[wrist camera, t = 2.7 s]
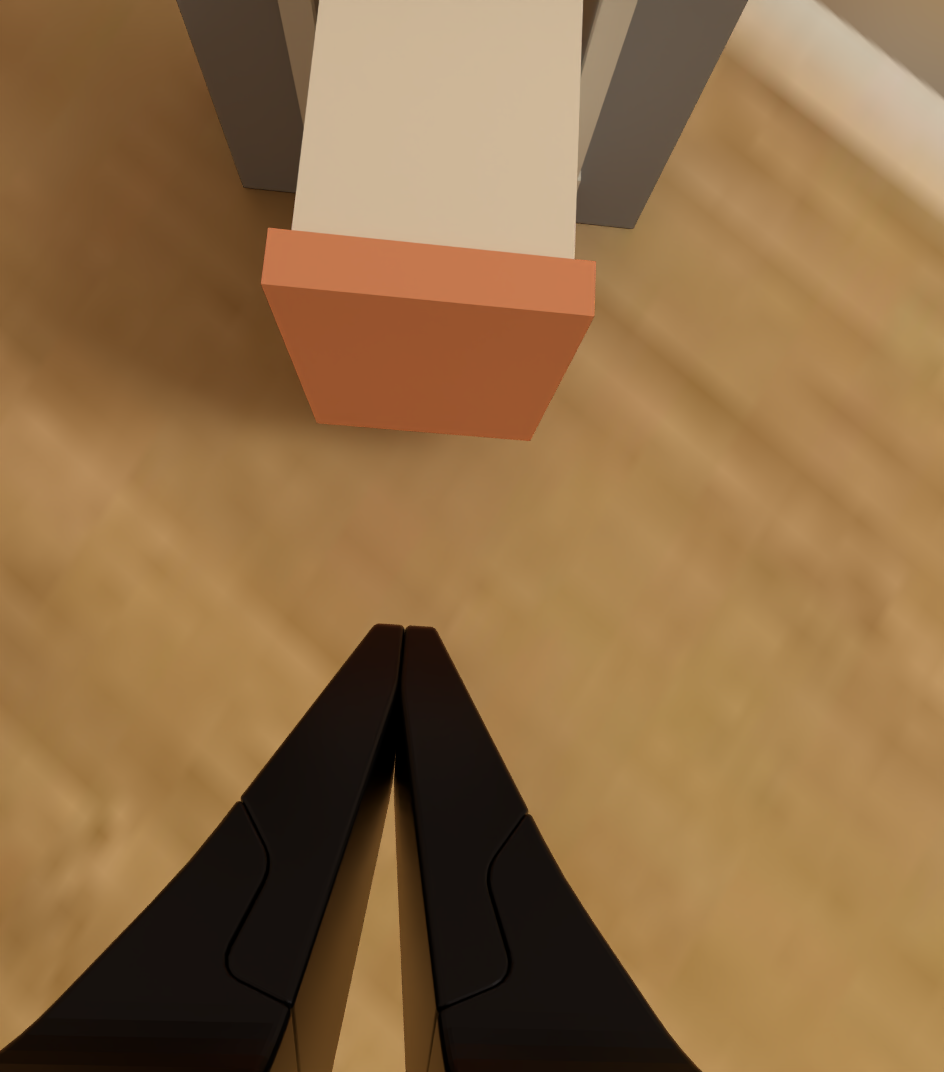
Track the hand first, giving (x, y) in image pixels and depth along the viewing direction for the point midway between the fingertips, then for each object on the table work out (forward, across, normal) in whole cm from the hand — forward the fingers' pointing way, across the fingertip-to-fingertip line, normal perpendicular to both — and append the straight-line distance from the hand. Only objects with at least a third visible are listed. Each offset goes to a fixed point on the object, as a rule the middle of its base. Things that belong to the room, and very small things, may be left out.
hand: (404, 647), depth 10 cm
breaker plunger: (+12, 0, -3) cm, 13 cm away
